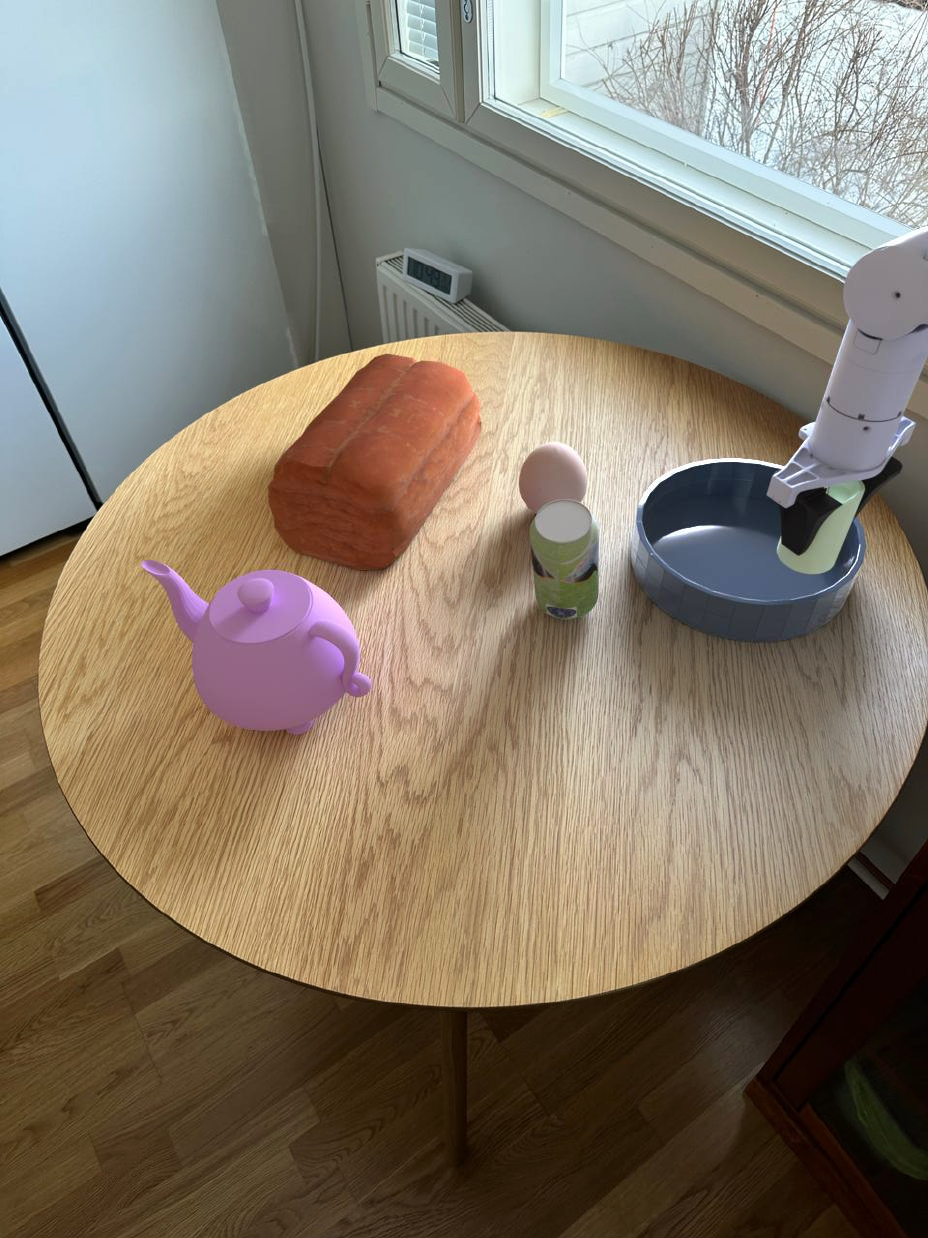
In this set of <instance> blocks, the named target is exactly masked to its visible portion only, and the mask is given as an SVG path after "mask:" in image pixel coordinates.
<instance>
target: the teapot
mask: <svg viewBox="0 0 928 1238" xmlns="http://www.w3.org/2000/svg"><path fill="white" fill-rule="evenodd" d="M141 567H142V569H143V570H144V571H146V572H147V574H149V575H151V576H152V578H154V579H156V581H157V582H158V583H159V584H160V585H161V586H162V588H163V589H164V591H165V593H166V595H167V598H168V601H169V604H170V607H171V611H172V614H173V616H174V619H175V622H176V624H177V626H178V628H179V629H180V631H181V632H182V634H183V635H184V636H185V637H186V638H187V639H188V640H189V641H190V642H191V643H192V649H191V669H192V676H193V682H194V685H195V688H196V692H197V694H198V696H199V698H200V700H201V702H202V704H203V705H204V706H205V707H206V708H207V710H208V711H210V712H211V713H212V714H213V715H214V716H216V717H217V718H219V719H220V720H222V721H223V722H225V723H226V724H229V725H232V726H234V727H237V728H241V729H243V730H244V729H245V730H251V731H257V732H272V731H273V732H274V731H283V730H285V731H286V732H287V733H288V734H290V735H293V736H294V735H297V736H299V735H303V734H305V733H307V732H308V731H309V730H310V729H311V728H312V726H313V724H314V720H315V719H317V718H318V717H320V716H322V715H323V714H325V713H326V712H328V711H330V710H331V708H333V707H334V706H336V704H337V703H338V702H339V701H340V700H341V699H342V698H343V697H344V696H345V695H346V694H347V695H349V696H351V697H354V698H362V697H366V696H367V694H369V693H370V692H371V689H372V685H373V684H372V683H373V682H372V680H371V679H370V678H369V676H367V675H365V674H364V673H361V672H358V670H359V665H360V661H361V649H360V643H359V639H358V635H357V633H356V630H355V628H354V626H353V624H352V622H351V620H350V618H349V617H348V615H347V614H346V612H345V611H344V609H343V607H341V606H340V604H339V603H338V602H337V601H336V600H335V599H334V598H333V597H332V596H330V594H329V593H328V592H326V591H325V590H323V589H322V588H320V587H319V586H317V585H315V584H314V583H312V582H311V581H309V580H307V579H306V578H305V577H304V578H303V577H301V576H299V575H297V574H294V573H291V572H289V571H284V570H280V569H262V570H256V571H252V572H248V573H245V574H242V575H240V576H237V577H236V578H234V579H232V580H231V581H229V582H228V583H226V584H225V585H223V586H222V587H221V588H220V589H219V590H218V591H217V592H216V593H215V595H214V596H213V597H212V598H211V600H210V602H209V603H208V602H207V601H205V600H204V599H202V597H200V596H199V595H198V594H197V593H196V592H194V590H193V589H192V588H191V587H190V586H189V585H188V583H187V582H186V580H184V579H183V578H182V577H181V576H180V574H178V573H177V572H176V571H175V570H174V569H173V568H171V567H170V566H168V565H167V564H164V563H162V562H160V561H158V560H153V559H145V560H142V562H141Z"/></svg>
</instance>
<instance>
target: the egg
mask: <svg viewBox="0 0 928 1238" xmlns="http://www.w3.org/2000/svg"><path fill="white" fill-rule="evenodd" d="M587 473H588V472H587V469H586V466H585V464H584V461H583V460H582V458H581V456H580V455H579V454H578V452H576V451H575V449H574V448H572V447H571V446H569V445H567V444H565V443H563V442H559V441H549V442H545V443H543V444H540V445H538V446H537V447H535V448H534V449H533V450H532V451H531V452H530V453H529V454H528V455H527V457H526V459H525V460H524V461H523V463H522V466H521V468H520V471H519V477H518V489H519V490H518V491H519V494H520V497H521V499H522V501H523V502H524V504H525V505H526V507H527V508H528V509H529V510H531V511H532V513H534V514H536V515H537V513H538V511H539V510H540V509H541V508H542V507H543V506H544V505H546V504H548V503H550V502H552V501H555V500H561V499H569V500H574V501H578V502H580V503H582V502H583V500H584V498H585V496H586V494H587V488H588V474H587Z"/></svg>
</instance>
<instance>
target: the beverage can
mask: <svg viewBox="0 0 928 1238" xmlns="http://www.w3.org/2000/svg"><path fill="white" fill-rule="evenodd" d="M528 533H529V544H530V552H531V555H530V556H531V564H532V575H533V584H534V592H535V593H534V594H535V601H536V604H537V606H538V607H539V609H540V610H541V611H542V612H543V613H544V614H545V615H548V616H549V617H551V618H553V619H556V620H563V621H570V620H575V619H579V618H581V617H584V616H586V615H587V614H589V613H590V612H591V611H592V610H593V609H594V608H595V606H596V605H597V603H598V600H599V593H600V589H599V588H600V587H599V586H600V583H599V582H600V581H599V580H600V577H599V576H600V527H599V524H598V521H597V519H596V518H595V516H594V515H593V514H592V512H591V511H590V509H589V508H588V507H587V505H585V504H583V503H582V502H581V503H580V502H578V501H574V500H569V499H561V500H555V501H552V502H550V503H548V504H546V505H544V506H543V507H542V508H541V509H540V510H539V511H538V513H537V514H536V516H535V517H534V518H533V520H532V521H531V524H530V527H529V532H528Z"/></svg>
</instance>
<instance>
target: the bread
mask: <svg viewBox="0 0 928 1238" xmlns="http://www.w3.org/2000/svg"><path fill="white" fill-rule="evenodd" d="M481 410H482V406H481V403H480V400H479V397H478V394H476V393H475V392H474V391H473V388H472V385H471V383H470V381H469V380H468V377H467V376H466V374H465V372H464V371H463V370H460V369H458V368H455V367H454V366H451V365H448V364H446V363H444V362H441V361H434V360H420V361H417V360H416V359H415V358H414V357H410V356H404V355H398V354H393V353H383V354H380V355H377V356H373V358H372V359H371V360H370V361H369V362H368V363H366V365H364V366H363V367H361V368H360V369H358V370H356V372H355V374H354V375H353V376H352V377H351V378H350V380H349V381H347V384H346V385H344V387H343V388H342V389H341V390H340V392H339V393H338V394H337V395H336V396H335V397H334V398H333V399H332V400H331V401H330V402H329V403H328V404H327V405H326V406H325V407H324V408H323V409H322V410H321V411H320V413H318V414H317V415H315V417H314V418H313V419H312V420H311V421H310V422H309V423H308V424H307V426H306V427H305V429H304V431H303V432H302V434H301V435H300V436H299V437H298V438H297V439H296V440H295V441H294V442H293V443H291V445H290V446H289V447H288V448H287V449H286V450H285V451H284V452H283V453H282V455H281V456H280V458H278V460H277V462H276V463H275V464H274V468H273V474H272V476H273V477H272V480H271V481H270V482H269V484H267V503H268V506H269V509H270V511H271V515H272V516H273V526H274V529H275V531H276V532H277V533H278V534H279V536H280V537H281V539H282V540H283V542H284V543H285V544H286V545H287V546H288V547H289V548H290V549H291V550H292V551H293V552H294V553H297V554H300V555H304V556H308V557H311V558H315V559H318V560H322V561H325V562H328V563H333V564H337V565H339V566H344V567H347V568H351V569H354V570H359V571H371V570H374V571H375V570H384V569H386V568H387V567H388V566H389V565H391V564H392V563H393V562H394V561H395V560H397V559H398V558H399V557H401V556H402V555H403V554H404V553H406V551H407V549H408V548H409V547H410V545H411V543H412V542H413V540H414V539H415V538H416V536H417V534H418V533H419V531H420V530H421V528H422V527H423V525H424V524H425V522H426V521H427V519H428V518H429V516H430V515H431V513H432V512H433V510H434V509H435V507H436V506H437V504H438V503H439V501H440V499H441V498H442V497H443V495H444V493H445V492H446V490H447V489H448V488H449V486H450V484H451V482H452V481H453V480H454V478H455V477H456V475H457V473H458V472H459V470H460V469H461V467H462V465H463V464H464V463H465V461H466V459H467V458H468V456H469V455H470V453H471V451H472V450H473V448H474V446H475V444H476V443H477V441H478V439H479V437H480V435H481V433H482V423H483V422H482V419H481V416H480V413H481Z"/></svg>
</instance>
